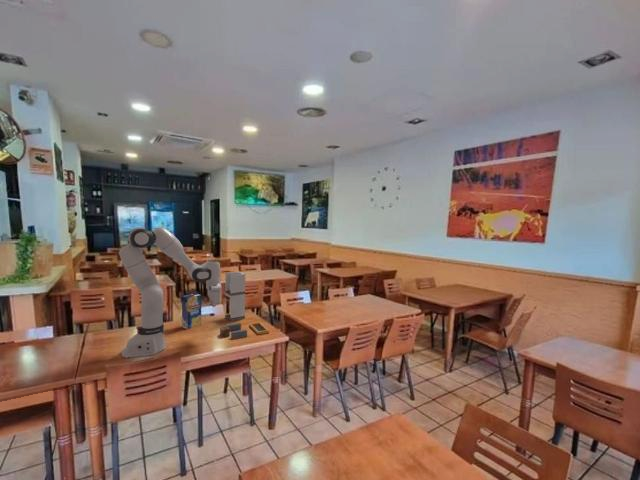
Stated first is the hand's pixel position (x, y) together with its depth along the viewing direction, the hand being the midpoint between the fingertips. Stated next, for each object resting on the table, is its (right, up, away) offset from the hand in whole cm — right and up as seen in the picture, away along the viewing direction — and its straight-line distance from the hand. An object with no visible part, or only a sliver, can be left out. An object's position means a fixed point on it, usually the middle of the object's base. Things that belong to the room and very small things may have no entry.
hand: (213, 306), depth 201 cm
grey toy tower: (+3, -18, +41) cm, 45 cm away
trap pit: (+26, -20, +17) cm, 37 cm away
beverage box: (-23, -19, +21) cm, 36 cm away
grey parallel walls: (+12, -20, +9) cm, 25 cm away
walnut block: (+6, -21, +5) cm, 22 cm away
